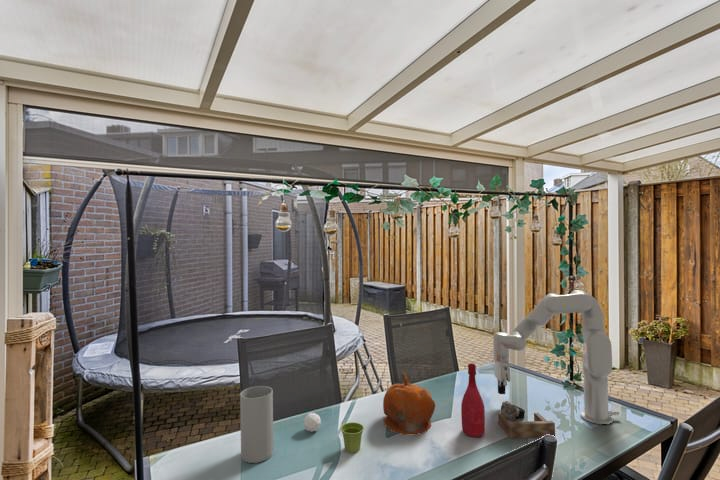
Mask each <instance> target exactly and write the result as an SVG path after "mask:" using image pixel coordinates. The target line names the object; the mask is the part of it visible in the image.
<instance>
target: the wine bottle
mask: <svg viewBox="0 0 720 480" xmlns="http://www.w3.org/2000/svg"><path fill="white" fill-rule="evenodd" d="M467 369H468V370H467V374H468V383H467V387H466V390H465V392H464V394H463V397H462V400H461V407H460V410H461V412H460V415H461V429H462V432H463V433H464V434H465V435H466V436H469V437H472V438H480V437H482V436H483V435H485V431H486V427H485V426H486V415H485V414H486V412H485V404H484V400H483V398H482V395H481V394H480V390H479V389H478V386H477V381H476V375H477V366H476V364H475V363H473V362H471V363H468V364H467Z"/></svg>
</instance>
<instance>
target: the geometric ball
mask: <svg viewBox="0 0 720 480" xmlns="http://www.w3.org/2000/svg"><path fill="white" fill-rule="evenodd" d="M321 424H322V419H321V417H320V415H318V414H317V413H315V412H310V413H308V414H306V416H305V417H304V419H303V427H304V429H305V430H306V431H307V432H309V431H310V432H309V433H314V432H313V431H315V432H317V431H318V430H319V429H320V427H321ZM316 430H317V431H316Z"/></svg>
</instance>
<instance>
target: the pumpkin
mask: <svg viewBox="0 0 720 480" xmlns="http://www.w3.org/2000/svg"><path fill="white" fill-rule="evenodd" d="M402 378H403V381H404V382H401V383H396V382H395V383H394V384H391V385H390V386H389V388H388V389H387V390H386V392H385V393H384V396H383V401H382V402H383V403H382V405H383V407H382V408H383V414H384V415H385V418H384V420H383V421H384V422H383V423H385V424H384V426H385V428H387V429H388V430H389V429H390V430H389V431H391V430H392V431H391V432H393V431H394V432H393V433H396V432H397V433H396V434H399V433H402V434H401V435H405V434H414V435H419V434H418V433H420V434H423V433H425V431H426V432H427V431H429V430H430V429H431V427H432V422H431V421H432V420H431V419H432V416H433V415H434V412H435V408H436V403H435V400H434V399H433V398H432V396H431V393H430V391H429V390H428V389H426V388H422V387H421V386H419V385H417V384H412V383H411V380H410V378H409V376H408V375H407V373H406V371H402ZM428 429H429V430H428ZM422 432H423V433H422Z"/></svg>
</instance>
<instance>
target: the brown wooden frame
mask: <svg viewBox="0 0 720 480" xmlns="http://www.w3.org/2000/svg"><path fill="white" fill-rule="evenodd" d="M497 424H498V425H499V426H500V427H501V429H502V430H503V431H504V433H506V435H507V436H508V437H509V438H510V439H513V440H514V439H542V438H541V437H542V436H544V435H546V434H550V435H554V436H555V437H556V422H555V421H553V420H547V418H545V417H544V416H543V415H542V414H541V413H539V412H534V413H533V421H532V420H531V421H509V419H507V418H505V417H504V416H503V415H502V414H500V413H497Z"/></svg>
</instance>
